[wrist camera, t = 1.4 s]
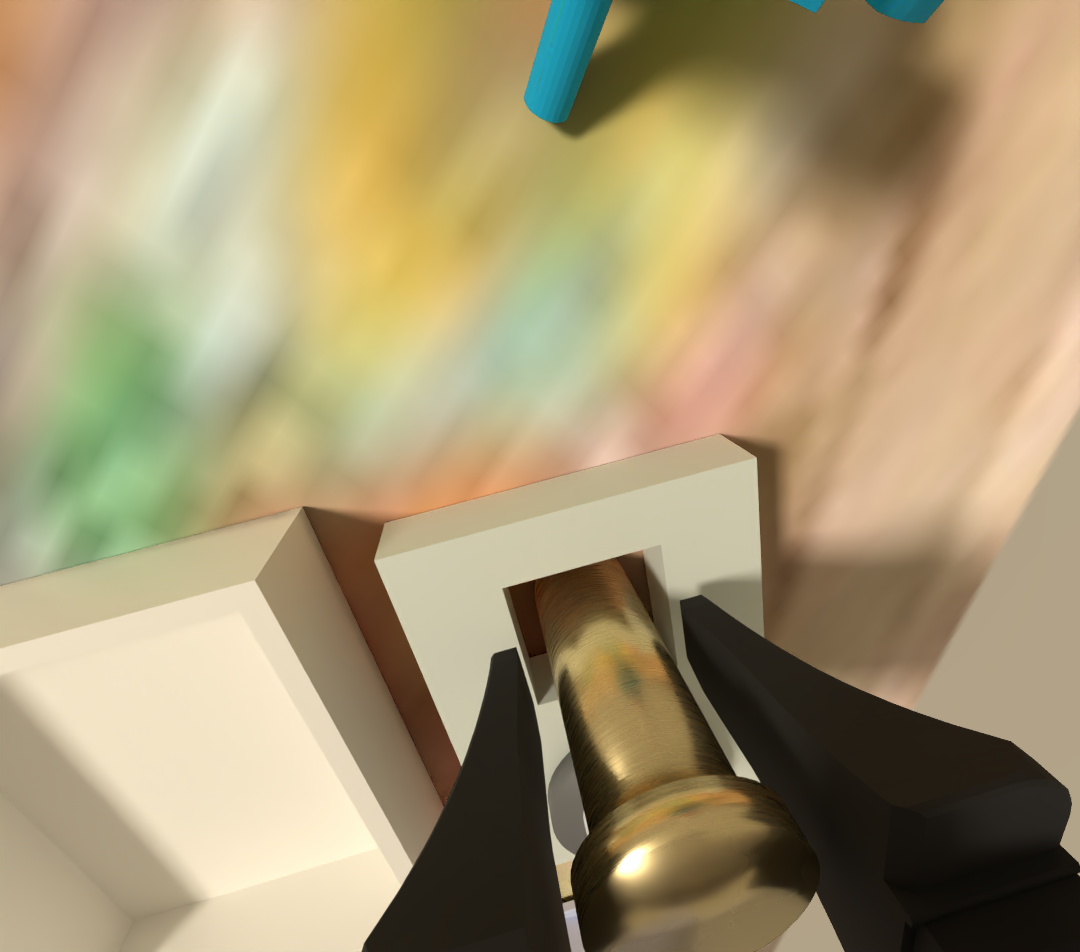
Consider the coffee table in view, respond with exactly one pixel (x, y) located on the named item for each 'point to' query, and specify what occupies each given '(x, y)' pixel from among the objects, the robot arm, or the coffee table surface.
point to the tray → (200, 754)
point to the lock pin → (660, 789)
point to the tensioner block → (563, 544)
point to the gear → (577, 31)
